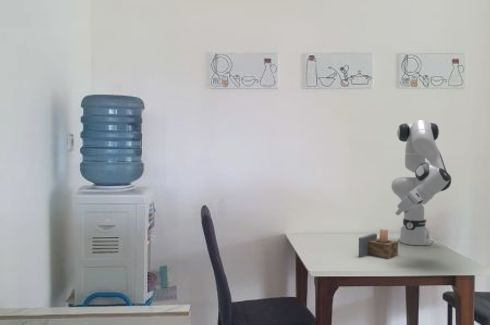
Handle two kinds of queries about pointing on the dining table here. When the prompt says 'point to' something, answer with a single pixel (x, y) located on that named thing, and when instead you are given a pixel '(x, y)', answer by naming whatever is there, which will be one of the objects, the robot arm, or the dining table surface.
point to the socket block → (383, 248)
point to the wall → (365, 244)
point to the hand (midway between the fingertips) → (400, 213)
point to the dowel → (383, 236)
